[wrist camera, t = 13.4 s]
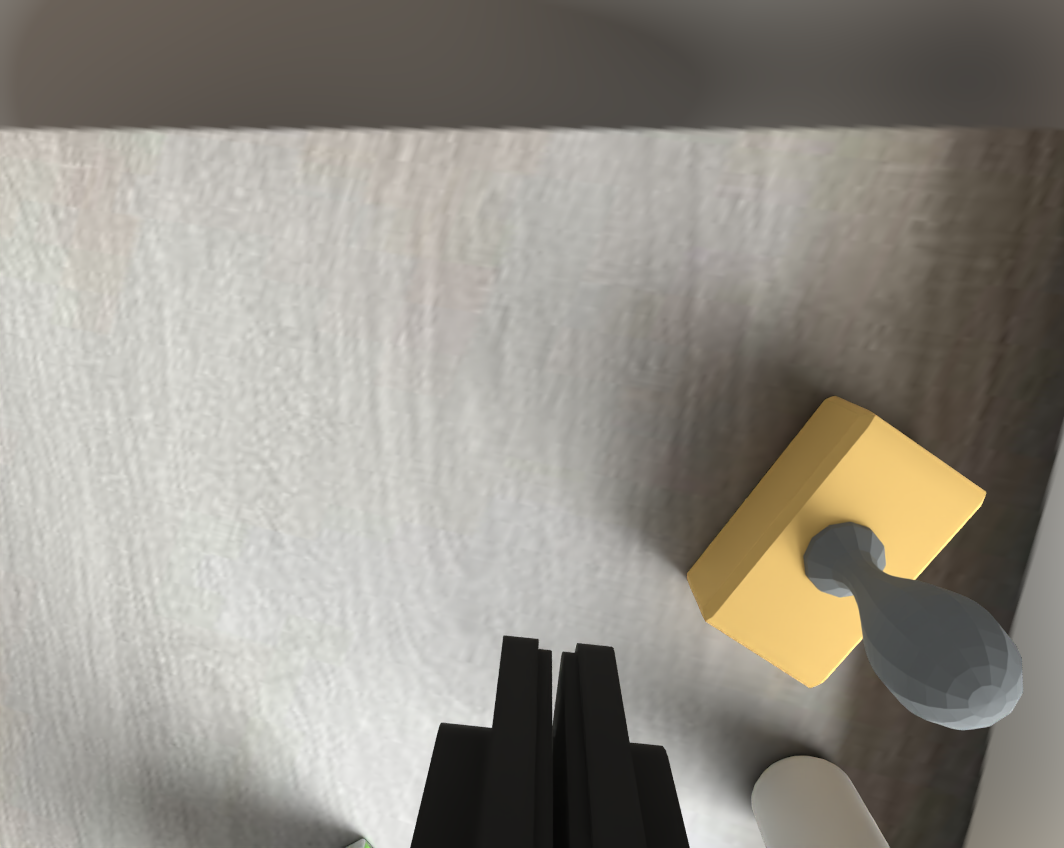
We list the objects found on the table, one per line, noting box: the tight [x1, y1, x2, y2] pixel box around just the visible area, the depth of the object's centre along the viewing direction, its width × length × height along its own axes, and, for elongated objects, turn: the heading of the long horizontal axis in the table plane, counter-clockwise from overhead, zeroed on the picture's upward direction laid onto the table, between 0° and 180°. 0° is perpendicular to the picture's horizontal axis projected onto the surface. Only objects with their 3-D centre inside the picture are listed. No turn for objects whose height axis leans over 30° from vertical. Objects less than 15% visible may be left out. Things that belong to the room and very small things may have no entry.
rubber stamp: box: [687, 396, 1023, 730], centre depth 22 cm, size 10×6×12 cm, turn 147°
